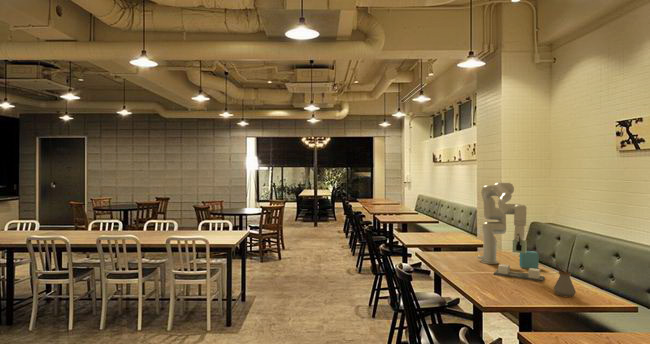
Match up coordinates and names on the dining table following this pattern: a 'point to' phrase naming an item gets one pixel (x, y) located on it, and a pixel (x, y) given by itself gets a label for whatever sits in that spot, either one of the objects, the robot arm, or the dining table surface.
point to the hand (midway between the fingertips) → (519, 249)
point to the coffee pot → (564, 284)
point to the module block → (524, 246)
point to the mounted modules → (531, 272)
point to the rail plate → (519, 276)
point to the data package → (529, 259)
